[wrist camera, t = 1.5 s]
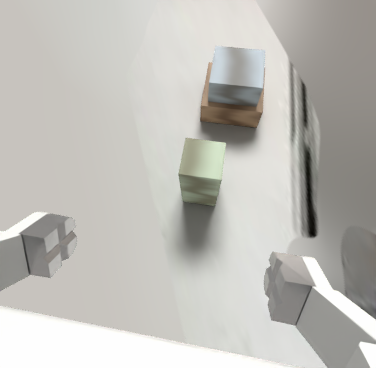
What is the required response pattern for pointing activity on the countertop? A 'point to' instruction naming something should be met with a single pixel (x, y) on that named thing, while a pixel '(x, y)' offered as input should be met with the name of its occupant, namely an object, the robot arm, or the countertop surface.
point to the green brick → (201, 171)
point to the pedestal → (234, 87)
